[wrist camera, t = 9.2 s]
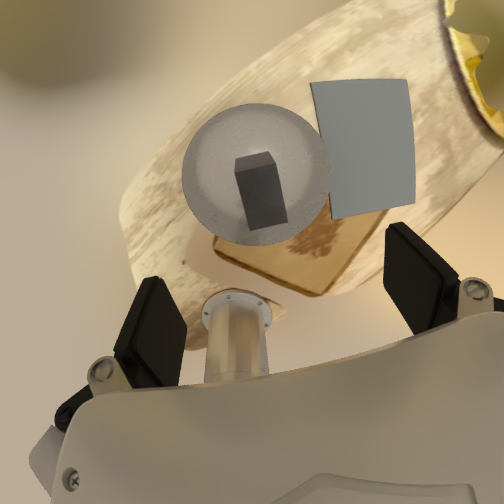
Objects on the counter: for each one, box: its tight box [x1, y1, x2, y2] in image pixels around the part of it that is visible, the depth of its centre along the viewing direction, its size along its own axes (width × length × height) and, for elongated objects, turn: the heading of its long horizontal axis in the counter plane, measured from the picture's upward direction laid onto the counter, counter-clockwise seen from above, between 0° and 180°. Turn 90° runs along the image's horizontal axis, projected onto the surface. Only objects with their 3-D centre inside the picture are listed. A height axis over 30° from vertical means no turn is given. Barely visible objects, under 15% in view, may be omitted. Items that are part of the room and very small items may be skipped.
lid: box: [182, 104, 332, 246], centre depth 21 cm, size 13×13×6 cm
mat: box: [310, 79, 416, 220], centre depth 33 cm, size 20×15×1 cm
